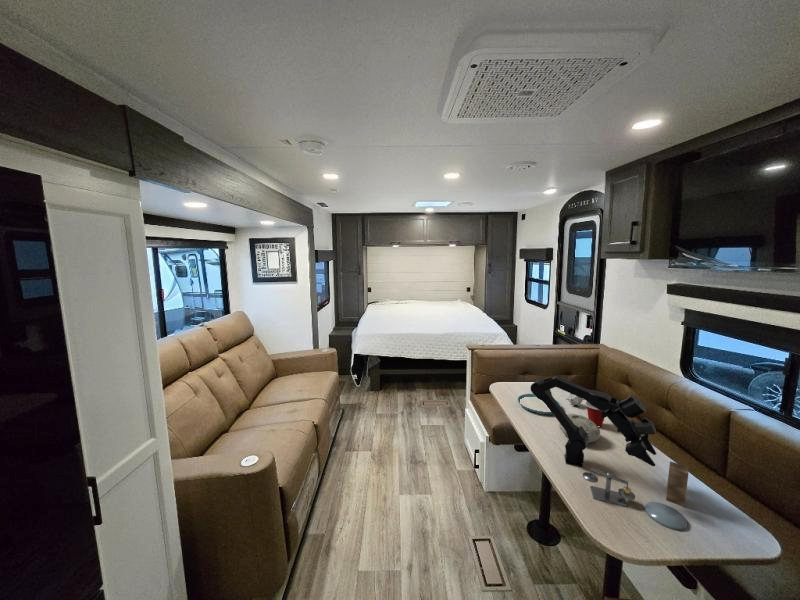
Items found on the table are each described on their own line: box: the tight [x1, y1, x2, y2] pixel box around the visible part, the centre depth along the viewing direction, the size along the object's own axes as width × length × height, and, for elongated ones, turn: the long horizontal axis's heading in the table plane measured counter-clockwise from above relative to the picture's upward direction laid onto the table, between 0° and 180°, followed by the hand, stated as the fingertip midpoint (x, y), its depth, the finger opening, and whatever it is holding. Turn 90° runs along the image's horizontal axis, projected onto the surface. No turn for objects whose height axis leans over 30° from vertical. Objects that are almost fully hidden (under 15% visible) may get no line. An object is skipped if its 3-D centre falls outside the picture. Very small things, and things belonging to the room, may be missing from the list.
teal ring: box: [517, 393, 562, 415], centre depth 190 cm, size 24×24×3 cm
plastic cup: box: [584, 400, 606, 427], centre depth 168 cm, size 11×11×12 cm
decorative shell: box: [558, 413, 601, 444], centre depth 156 cm, size 18×18×10 cm
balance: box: [582, 467, 636, 507], centre depth 116 cm, size 17×6×10 cm, turn 68°
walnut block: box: [665, 460, 689, 508], centre depth 115 cm, size 5×5×13 cm
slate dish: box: [644, 501, 688, 531], centre depth 108 cm, size 11×11×1 cm
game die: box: [565, 393, 585, 406], centre depth 191 cm, size 9×8×10 cm
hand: (654, 460), depth 118 cm, fingers open, 9 cm apart
